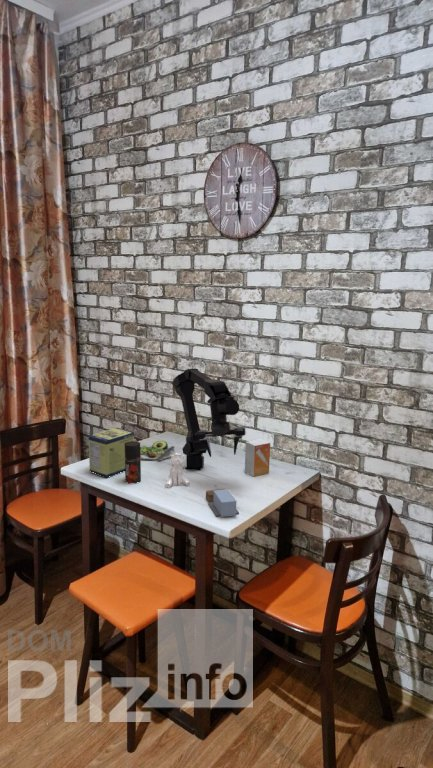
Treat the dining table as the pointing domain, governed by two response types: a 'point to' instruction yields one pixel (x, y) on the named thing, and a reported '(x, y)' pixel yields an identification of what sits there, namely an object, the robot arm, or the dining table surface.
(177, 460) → the white creature statuette
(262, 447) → the small box
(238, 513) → the charcoal felt mat
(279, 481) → the dining table surface
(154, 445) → the salad plate
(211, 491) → the walnut plinth
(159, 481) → the dining table surface
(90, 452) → the protein box
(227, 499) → the slate-blue block
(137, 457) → the deodorant
